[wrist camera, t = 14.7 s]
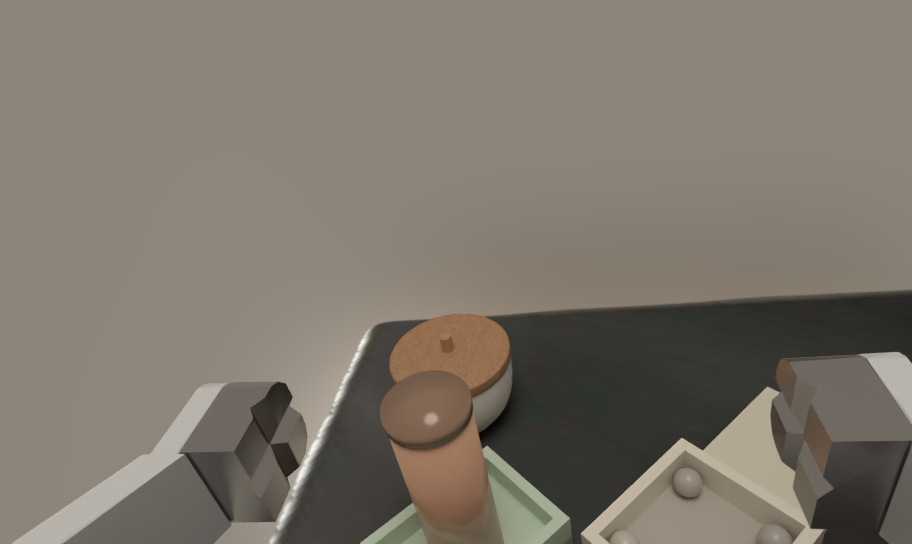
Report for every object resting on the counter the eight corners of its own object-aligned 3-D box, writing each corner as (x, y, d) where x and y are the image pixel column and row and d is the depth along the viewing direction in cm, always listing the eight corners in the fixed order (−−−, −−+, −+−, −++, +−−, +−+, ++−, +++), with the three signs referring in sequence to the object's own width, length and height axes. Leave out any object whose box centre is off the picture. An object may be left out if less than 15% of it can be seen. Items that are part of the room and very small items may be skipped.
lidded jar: (533, 379, 55) (521, 302, 50) (502, 469, 47) (484, 388, 42) (434, 367, 59) (414, 295, 54) (390, 448, 51) (361, 371, 46)
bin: (760, 389, 49) (765, 358, 47) (895, 454, 41) (906, 421, 39) (584, 563, 39) (580, 533, 37) (719, 689, 32) (723, 660, 30)
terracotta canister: (474, 501, 43) (435, 358, 36) (521, 549, 39) (489, 400, 32) (417, 546, 41) (363, 404, 33) (462, 603, 37) (411, 456, 29)
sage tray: (492, 469, 47) (486, 445, 45) (573, 543, 40) (569, 518, 39) (370, 566, 42) (359, 543, 40) (440, 669, 35) (430, 646, 33)
